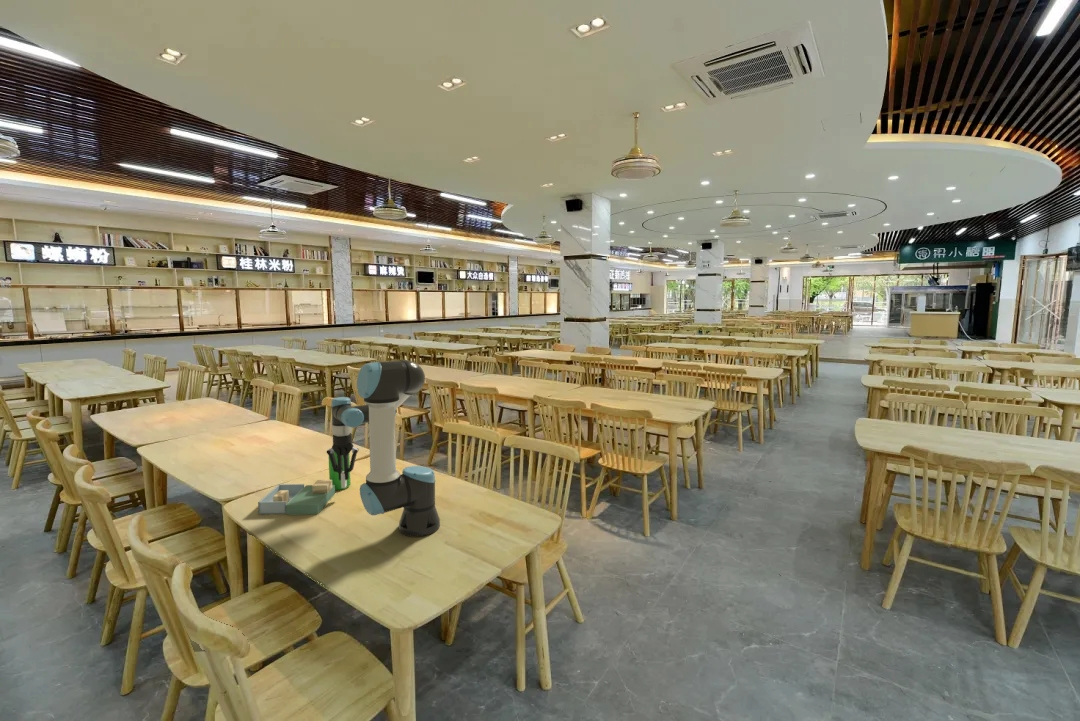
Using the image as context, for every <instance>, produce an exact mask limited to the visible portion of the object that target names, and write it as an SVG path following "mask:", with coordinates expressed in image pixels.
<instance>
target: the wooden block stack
mask: <svg viewBox="0 0 1080 721" xmlns="http://www.w3.org/2000/svg"><path fill="white" fill-rule="evenodd" d="M311 485H312V490H313V493H328V492H329V491H330V490H331V489H332V480H330V479H317V480H316V481H315V482H314V483H313V484H311Z"/></svg>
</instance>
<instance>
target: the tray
mask: <svg viewBox="0 0 1080 721" xmlns="http://www.w3.org/2000/svg"><path fill="white" fill-rule="evenodd" d="M304 487H305V484H304V483H296V484H295V483H291V484H290V483H289V484H288V483H287V484H284V483H283V484H278V485H277V486H275V487H274V488H273V489H272V490H271V491H270V492H268V493H267V494H266V495H264V496H263V498H261V499H260V500H259V501H258V502H257V505H258V506H257V507H258V509H257V510H258V515H284V514H286V515H287V513H286V505H287V504H288V503H289V502H290V501H291V500H292V499H293V498H294V497H295V496H296V495H297V494H298V493H299V492H300V491H301V490H302V489H303V488H304ZM280 490H289V502H288V503H287V504H286V501H280V502H273V496H274V495H275V494H276V493H277V492H278V491H280Z"/></svg>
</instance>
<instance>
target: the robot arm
mask: <svg viewBox="0 0 1080 721" xmlns="http://www.w3.org/2000/svg"><path fill="white" fill-rule="evenodd" d="M356 379H357V380H356V388H357V393H358V395H359V397H360V398H362V399H363V402H364V403H365V404H361V405H355V406H354V405H353V406H352V401H351V398H350V397H347V396H338V397H333V399H332V400H331V404H330V405H331V406H330V409H331V426H332V427H331V428H332V429H331V430H332V446H331V448H329V449H327V450H326V454H327V455H328V458H329V457H330V460H331V464H332V467H333V470H334V472H338V474H339V480H341V488H345V487H346V486H347V480H348V479H349V472H350V473H351V472H352V471H353V470H354V467H355V462H356V458H357V454H358V452H359V451H360V449H359V448H356V447H354V444H353V434H352V431H353V430H352V428H353V429H354V428H358V427H359V426H361V425H363V424H367V423H368V425H369V426H368V428H369V430H368V432H369V433H368V434H369V435H368V436H369V464H370V465H369V467H370V468H369V472H368V473H367V474H366V475H365V482H364V483H362V484H360V486H359V495H360V499H361V500H360V501H361V502H362V505H363V507H364V510H365V511H366V512H367V514H369V515H370V516H377V515H378V516H379V515H384V514H385V513H389V512H392V511H395V510H398V509H401V508H402V509H403V510H402V513H401V516H400V519H399V524H398V530H399V532H400V533H401V534H402V535H403V536H407V537H412V538H414V537H415V538H416V537H418V538H419V537H425V536H428V535H431V534H433V533H435V532H436V531H438V530H439V529H440V526H441V519H440V516H439V513H438V510H437V508H436V475H435V472H434V470H433V469H432V468H430V467H427V466H421V465H410V466H406V467H404V468H403V470H402V471H401V472H402V474H401V472H400V471H399V470H397V467H396V465H397V463H396V460H397V458H396V455H397V453H396V415H397V409H398V408H399V407H400V406H401V405H402V404H403V403H404V402H405V401H407V399H408V398H410V397H411V396H414V395H416V394H418V392H420V391H421V390H422V389H423V387H424V385H425V381H426V374H425V372H424V370H423V368H422V367H421V366H420V364H417V362H414V361H412V360H408V359H401V360H387V361H373V362H367V363H365V364H363V365H362V366H361V367H360V368H359V371H358V374H357V376H356ZM333 450H334V451H335V453H336V454H337V458H338V465H337V462H336V459H335V455H334V453H333V452H334V451H333ZM351 452H352V454H351V459H350V467H349V454H350V453H351ZM342 456H343V458H344V471H343V460H342ZM342 471H343V472H342Z"/></svg>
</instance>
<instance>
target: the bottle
mask: <svg viewBox="0 0 1080 721" xmlns="http://www.w3.org/2000/svg"><path fill="white" fill-rule="evenodd" d="M333 451H334V450H333ZM333 453H334V455H335V459H336V462H337V465H338V458H337V454H336V453H335V451H334V452H333ZM350 457H351V456H350V453H349V467H350V462H351V459H350ZM342 460H343V471H344V458H343V456H342ZM343 471H342V472H343ZM328 474H329V477H328V480H332V485H335V491H341V490H345V489H347V488H349V487H350V486H351V472H349V479H348V480H347V486H346V487H345V488H341V480H339V474H338V472H334V470H333V467H332V464H331V460H330V457H329V456H328Z"/></svg>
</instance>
